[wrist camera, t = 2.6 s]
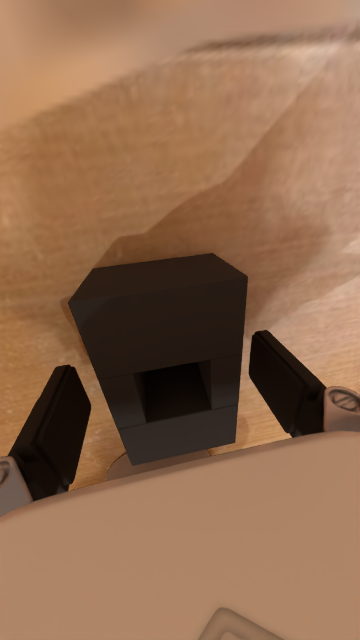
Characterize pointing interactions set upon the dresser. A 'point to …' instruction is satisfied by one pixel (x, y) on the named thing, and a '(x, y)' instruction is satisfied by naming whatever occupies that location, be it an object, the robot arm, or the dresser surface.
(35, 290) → the dresser surface
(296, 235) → the dresser surface
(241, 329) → the black block with hole
